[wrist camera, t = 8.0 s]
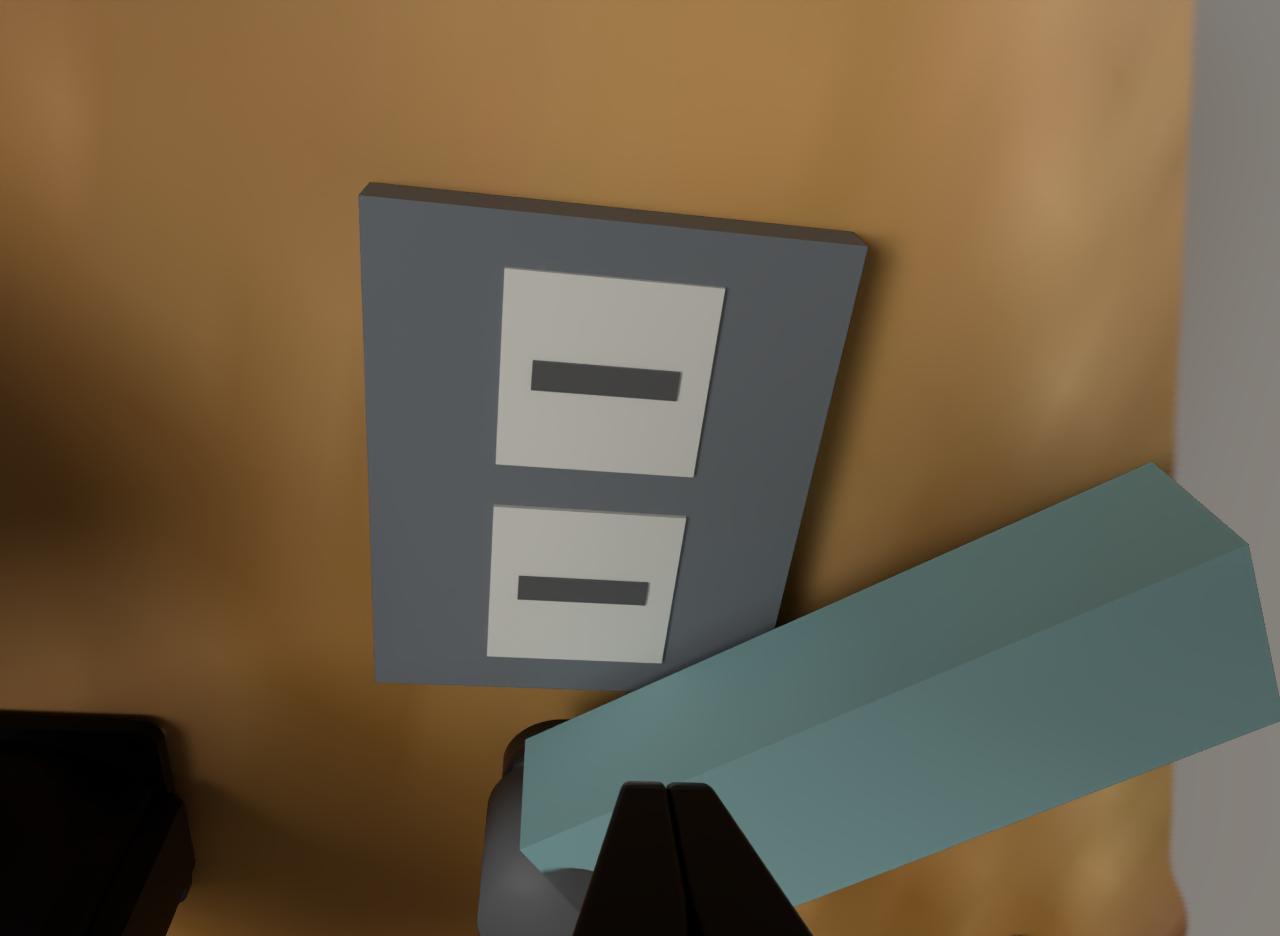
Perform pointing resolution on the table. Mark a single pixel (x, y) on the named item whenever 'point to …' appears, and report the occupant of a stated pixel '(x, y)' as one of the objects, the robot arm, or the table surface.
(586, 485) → the label panel
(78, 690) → the table surface
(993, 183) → the table surface
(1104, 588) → the swing arm
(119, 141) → the table surface
